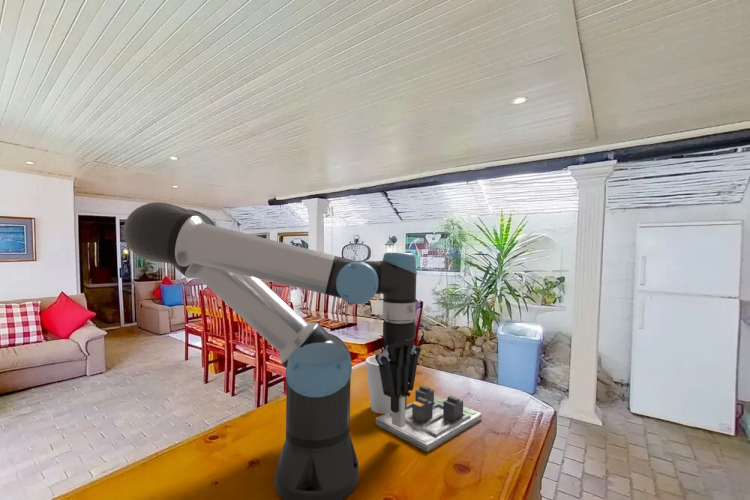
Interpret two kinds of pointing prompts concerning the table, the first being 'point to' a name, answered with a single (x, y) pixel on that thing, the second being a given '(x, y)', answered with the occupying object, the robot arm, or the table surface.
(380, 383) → the foam cup
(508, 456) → the table surface
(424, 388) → the block
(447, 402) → the breaker
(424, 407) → the breaker
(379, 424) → the panel
